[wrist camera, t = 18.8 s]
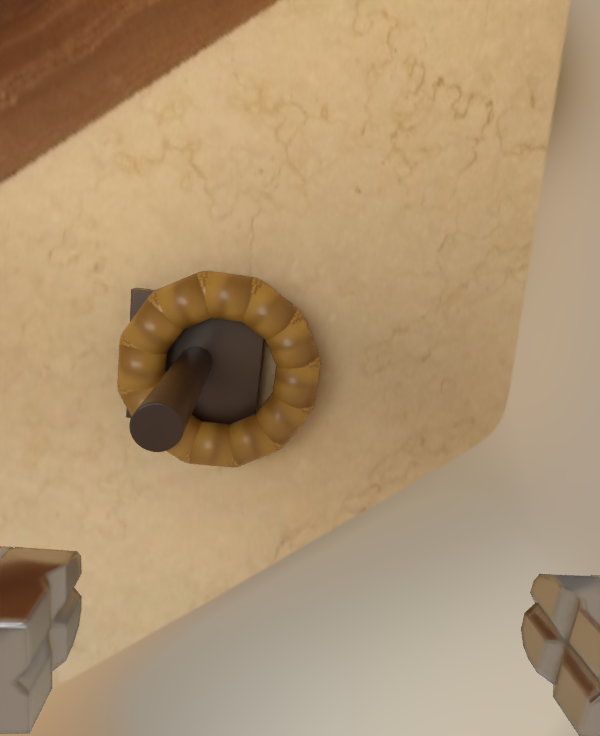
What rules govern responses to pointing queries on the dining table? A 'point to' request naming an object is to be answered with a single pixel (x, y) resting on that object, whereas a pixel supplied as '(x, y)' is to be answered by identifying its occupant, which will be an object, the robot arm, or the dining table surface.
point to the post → (199, 380)
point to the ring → (234, 303)
